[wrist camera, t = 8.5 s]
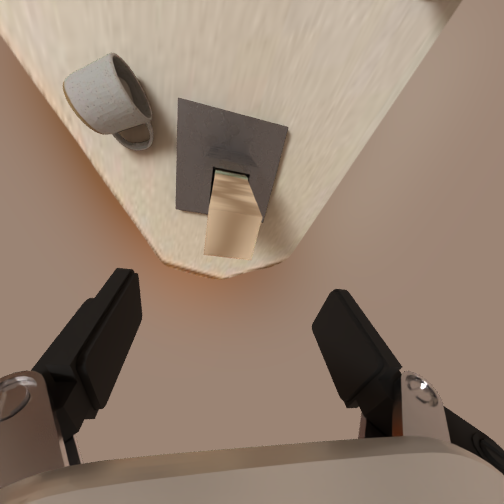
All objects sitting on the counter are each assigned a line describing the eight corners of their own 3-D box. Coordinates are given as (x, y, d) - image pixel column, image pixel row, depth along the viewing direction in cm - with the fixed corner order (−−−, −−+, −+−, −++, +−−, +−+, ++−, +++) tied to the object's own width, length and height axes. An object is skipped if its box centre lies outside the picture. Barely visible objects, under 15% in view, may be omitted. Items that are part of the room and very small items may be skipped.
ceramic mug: (79, 82, 30) (40, 73, 23) (128, 59, 29) (101, 43, 23) (127, 156, 36) (106, 165, 29) (169, 139, 35) (157, 144, 29)
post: (243, 168, 31) (263, 216, 15) (238, 195, 33) (251, 260, 17) (216, 163, 30) (208, 207, 14) (213, 190, 32) (203, 255, 16)
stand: (286, 127, 36) (314, 129, 24) (261, 219, 45) (274, 252, 34) (179, 98, 32) (155, 85, 21) (177, 206, 41) (159, 238, 30)
